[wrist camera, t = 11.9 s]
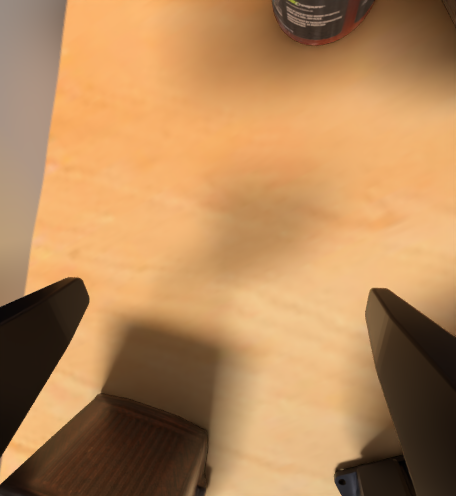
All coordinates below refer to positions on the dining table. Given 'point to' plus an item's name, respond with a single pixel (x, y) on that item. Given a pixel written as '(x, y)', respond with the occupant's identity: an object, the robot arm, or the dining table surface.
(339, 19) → the supplement bottle
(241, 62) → the dining table surface
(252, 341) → the dining table surface
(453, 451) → the robot arm
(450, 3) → the grey fixture plate
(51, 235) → the dining table surface
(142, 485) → the brown coffee grinder
